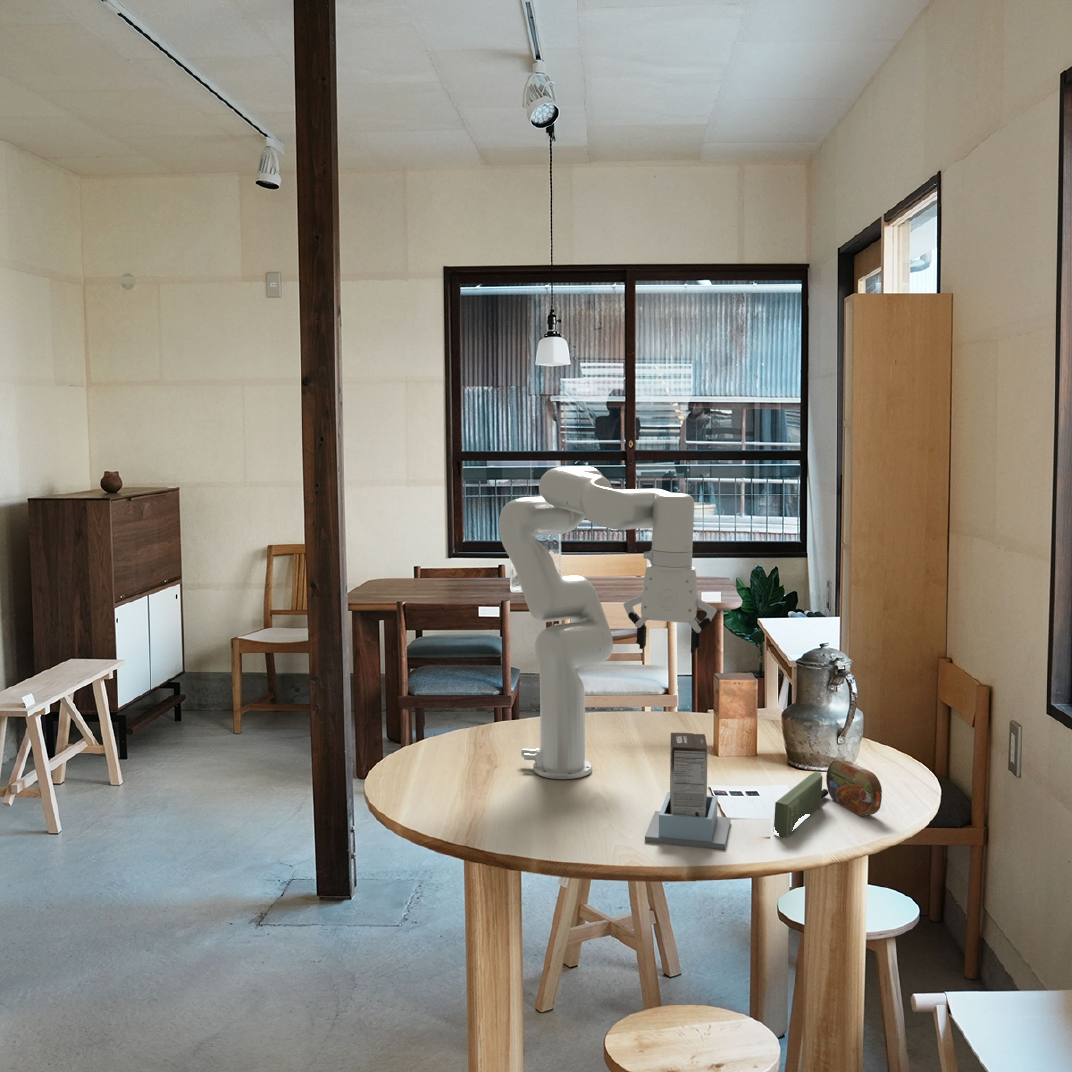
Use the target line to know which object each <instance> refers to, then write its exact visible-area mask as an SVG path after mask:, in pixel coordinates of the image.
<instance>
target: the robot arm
mask: <svg viewBox="0 0 1072 1072" xmlns="http://www.w3.org/2000/svg"><path fill="white" fill-rule="evenodd" d="M538 490H539V491H538V492H539V494H540V496H525V497H519V498H515V499H512V500H511V501H508V502H507V503H506V504H505V505H504V506H503V507H502V509H501V511H500V513H499V514H500V515H499V518H498V531H499V537H500V541H501V543H502V546H503V548H504V550H505V553H507V556H508V557H509V559H510V561H511V563H512V565H513V567H514V569H515V573H516V575H517V579H518V582H519V585H520V588H521V591H522V593H523V596H524V599H525V600H524V601H525V603H526V606H527V607H528V611H529V614H530V615H531V616H532V618H533V619H534V620H535V621H536V622H537V621H538V622H540V623H551V622H559V621H566V620H571V621H572V622H567V623H561V624H555V625H552V626H549V627H546V628H544V629H543V630H542V631H541V632H540V633H539V634H538V635H537V637H536V640H535V645H534V648H535V650H534V651H535V656H536V661H537V666H538V674H539V697H540V698H539V701H540V702H539V704H540V705H539V706H540V709H539V711H540V715H539V718H540V723H539V725H540V726H539V727H540V729H539V730H540V731H539V732H540V734H539V735H540V736H539V737H540V745H539V746H540V747H536V749H533V748H527V747H526V748H525V747H523V748H522V749H521V752H520V753H521V757H522V758H523V759H524V761H534V763H533V768H532V769H533V773H535V774H536V775H538V776H539V777H543V778H548V779H553V780H574V779H579V778H583V777H586V776H588V775H589V774H591V773H592V771H593V765H592V763H591V762H590V761H588V760H586V691H585V686H584V683H583V681H582V679H581V677H580V675H579V674H578V671H577V668H581V667H587V666H592V665H593V666H594V665H598V664H602V663H604V662H606V661H607V660H609V658H611V657H610V656H611V655H612V653H613V650H614V640H613V639H614V638H613V635H612V634H613V633H612V631H611V628H610V625H609V623H608V620H607V617H606V614H605V612H604V608H603V606H602V603H601V601H600V598H599V595H598V593H597V590H596V588H595V587H594V585H593V583H592V582H590V580H589V579H587V578H586V577H585V576H582V575H577V574H575V575H564V576H563V575H561V574H559V571H558V570H557V567H556V565H555V562H554V559H553V557H552V554H551V553H550V552H549V550H548V549H547V548H546V547H545V546H544V545H543V544H542V543H541V542H539V540H538V539H536V536H551V535H563V534H567V533H570V532H571V531H573V530H575V529H576V528H577V527H579V525H580V524H581V523H582V522H583V521H584V520H585V519H586V520H587V521H588V522H589V523H591V524H594V525H596V526H600V527H604V528H607V529H611V530H620V531H626V530H627V531H628V530H637V529H639V530H640V529H652V530H651V531H652V532H651V534H652V535H651V549H650V551H649V550H648V551H644V552H643V559H644V560H648V561H649V562H650V564H649V565H647V566H646V568H645V571H644V572H645V573H644V577H643V583H642V593H641V595H638V596H635V597H634V598H631V599H629V600H627V601H625V602H624V603H623V608H624V610H625V612H626V614H627V617H628V619H629V620H630V621H631V622H632V623H633V624H634V625H635V627H636V644H638V645H639V650H644V648H645V647H646V645H647V628H648V627H647V625H646V622H647V621H648V620H649V621H657V622H670V623H684V624H685V623H687V624H689V626H690V627H691V628H692V629H693V630H692V631H691V639H690V641H691V642H690V653H691V654H696V652H697V650H698V649H700V648H701V631H703V630H704V629H705V628H706V627H707V626H709V625H710V623H711V622H712V620H713V619H714V617H715V615H716V613H717V611H718V610H717V608H716V607H714V606H712V605H711V604H709V603H707V602H706V601H703V600H702V599H701V598H699V597H698V581H697V580H698V579H697V572H696V571H697V570H696V567H695V566H693V547H694V546H693V545H694V543H693V541H694V540H693V539H694V525H695V524H694V521H695V520H694V519H695V518H694V516H695V500H694V498H693V496H691V495H690V494H687V493H683V492H682V493H681V492H670V491H667V490H664V489H661V488H635V489H634V488H631V489H630V488H628V489H615V488H613V486H612V484H611V482H610V481H609V480H608V479H607V477H605V476H603V474H602V472H601V471H599V470H598V469H597V468H595V467H593V466H588V465H582V466H580V465H578V466H557V467H554V468H551V469H548V470H547V471H546V472H545V473H544V474H543V475H541V477H540V480H539V483H538ZM639 604H640V605H641V606H640V613H641V614H640V615H641V616H639V614H638V613H636V611H635V610H634V607H635V606H637V605H639ZM698 608H699V609H701V610H702V611H703V612H705V613H706V616H705V617H704V618H703V619H702V620H699V619H698V618H697V614H698Z"/></svg>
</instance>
